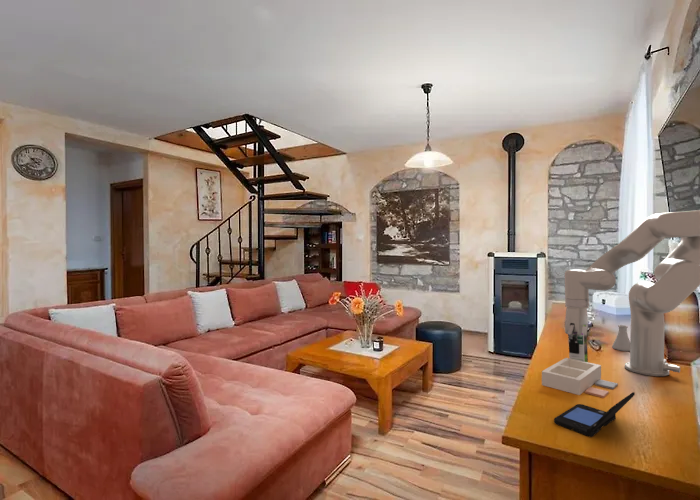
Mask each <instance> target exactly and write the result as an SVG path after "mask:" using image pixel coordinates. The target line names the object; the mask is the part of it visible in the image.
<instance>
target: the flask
mask: <svg viewBox="0 0 700 500" xmlns="http://www.w3.org/2000/svg"><path fill="white" fill-rule="evenodd" d="M617 326H618V331H617V335H616V337H615V339H614V341H613V343H612V346H611V348H612V349H614V350H618V351H624V352H630V337H629V335H628V326H627V325H623V324H619V325H617Z"/></svg>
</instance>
